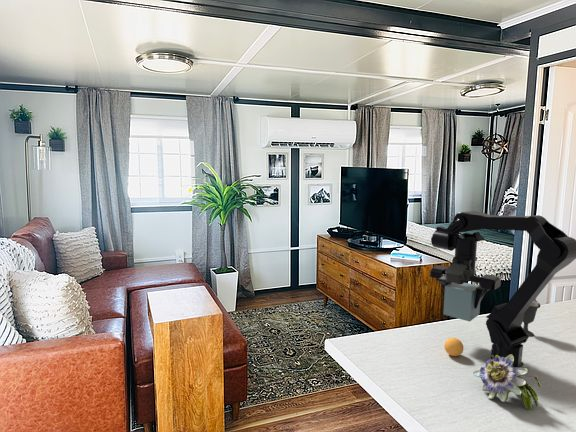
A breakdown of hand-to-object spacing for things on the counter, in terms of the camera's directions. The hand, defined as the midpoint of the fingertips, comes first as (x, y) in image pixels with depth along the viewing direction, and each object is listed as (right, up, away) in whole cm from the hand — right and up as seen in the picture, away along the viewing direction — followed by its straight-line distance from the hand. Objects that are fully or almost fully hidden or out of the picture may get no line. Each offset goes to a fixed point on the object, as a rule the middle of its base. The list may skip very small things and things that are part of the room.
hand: (461, 304), depth 117 cm
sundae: (+24, -11, +9) cm, 28 cm away
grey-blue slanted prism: (0, -3, 0) cm, 3 cm away
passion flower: (-1, -16, -25) cm, 30 cm away
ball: (-5, -11, -6) cm, 13 cm away
